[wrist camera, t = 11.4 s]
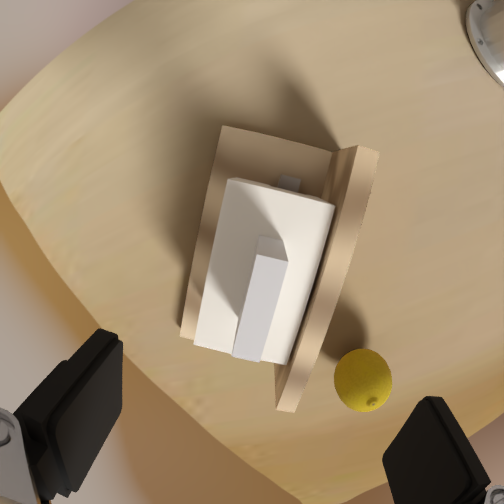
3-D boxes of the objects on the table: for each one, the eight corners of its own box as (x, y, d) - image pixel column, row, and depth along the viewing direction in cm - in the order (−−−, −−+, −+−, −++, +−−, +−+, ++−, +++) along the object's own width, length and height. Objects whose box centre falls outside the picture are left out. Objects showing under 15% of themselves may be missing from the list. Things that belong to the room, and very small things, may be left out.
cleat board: (224, 127, 27) (206, 107, 18) (345, 157, 27) (380, 152, 18) (182, 330, 32) (157, 382, 23) (287, 354, 32) (294, 412, 23)
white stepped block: (236, 177, 27) (215, 181, 15) (317, 197, 27) (356, 216, 15) (208, 306, 30) (177, 384, 18) (282, 323, 30) (290, 408, 18)
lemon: (387, 352, 32) (413, 396, 24) (351, 386, 33) (368, 434, 25) (355, 325, 31) (378, 369, 23) (317, 362, 32) (329, 411, 24)
